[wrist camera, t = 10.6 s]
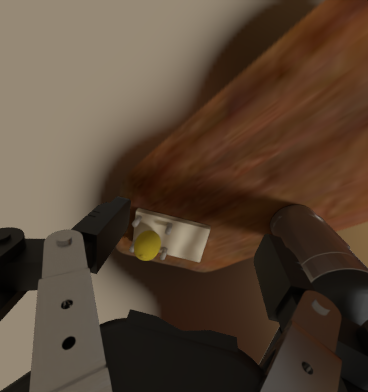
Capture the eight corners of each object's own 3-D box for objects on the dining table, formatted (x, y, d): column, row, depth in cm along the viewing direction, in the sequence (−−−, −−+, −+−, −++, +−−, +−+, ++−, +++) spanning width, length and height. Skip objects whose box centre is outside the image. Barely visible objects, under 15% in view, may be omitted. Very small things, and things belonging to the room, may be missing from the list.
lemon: (145, 219, 44) (132, 242, 37) (168, 229, 44) (159, 253, 37) (138, 237, 46) (124, 261, 39) (159, 246, 47) (150, 272, 40)
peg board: (210, 225, 44) (210, 237, 40) (199, 258, 49) (198, 272, 45) (138, 207, 45) (131, 218, 41) (134, 241, 49) (127, 253, 45)
